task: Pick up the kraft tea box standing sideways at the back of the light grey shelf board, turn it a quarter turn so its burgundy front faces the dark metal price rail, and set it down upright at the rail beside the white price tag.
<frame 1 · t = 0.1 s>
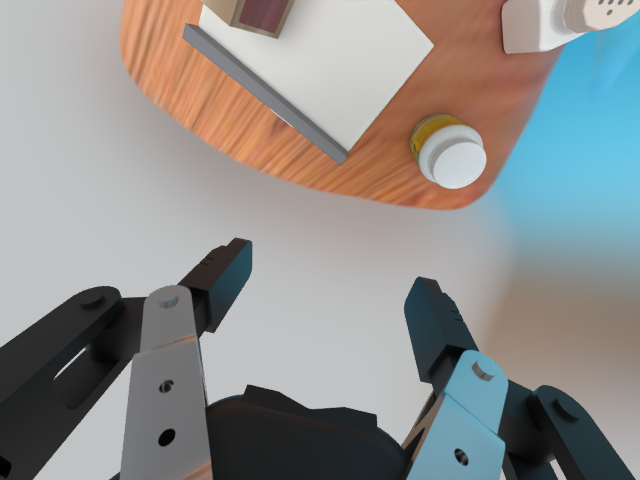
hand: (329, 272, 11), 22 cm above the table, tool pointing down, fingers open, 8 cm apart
supplement bottle: (433, 137, 27), on the table
shelf: (311, 43, 23), on the table
pepper shaker: (525, 17, 20), on the table
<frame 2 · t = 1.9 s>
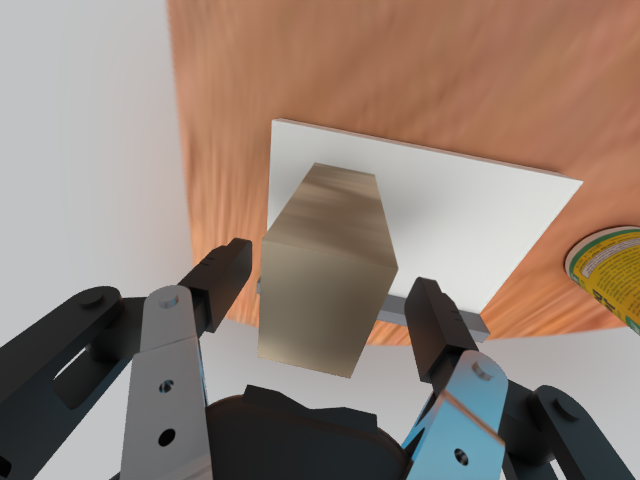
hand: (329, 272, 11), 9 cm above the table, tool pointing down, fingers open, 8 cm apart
tea box: (335, 209, 17), point 2 cm above the table, touching shelf
supplement bottle: (601, 253, 18), on the table
shelf: (387, 227, 19), on the table
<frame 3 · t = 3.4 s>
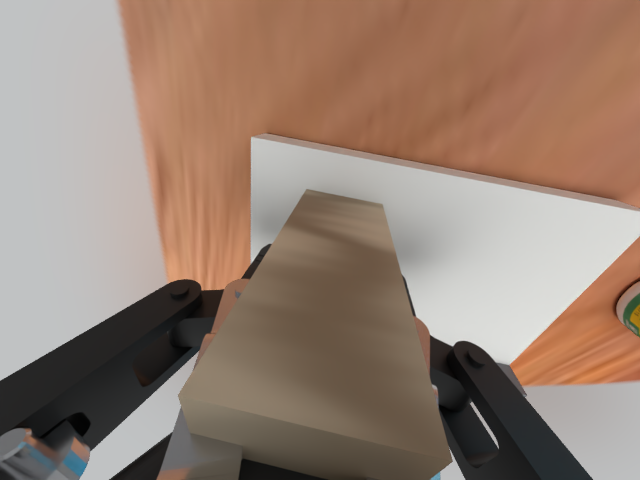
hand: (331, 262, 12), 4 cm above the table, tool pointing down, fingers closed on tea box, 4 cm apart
tea box: (333, 245, 13), point 2 cm above the table, touching gripper, shelf
shelf: (396, 261, 16), on the table
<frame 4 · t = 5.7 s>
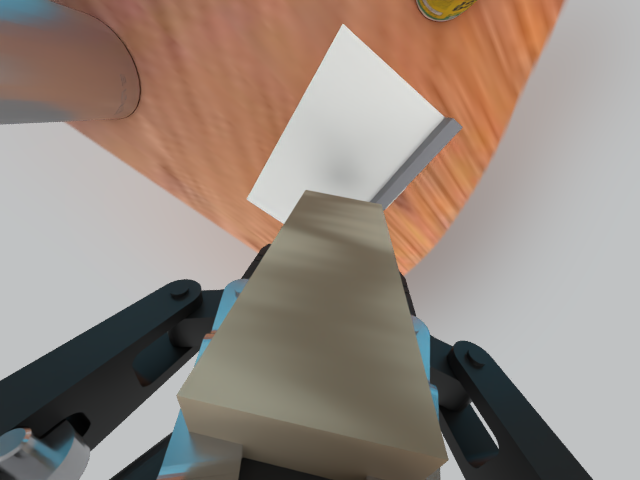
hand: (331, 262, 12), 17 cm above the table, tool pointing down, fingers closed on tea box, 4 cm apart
tea box: (332, 245, 13), point 16 cm above the table, touching gripper
shelf: (337, 163, 26), on the table
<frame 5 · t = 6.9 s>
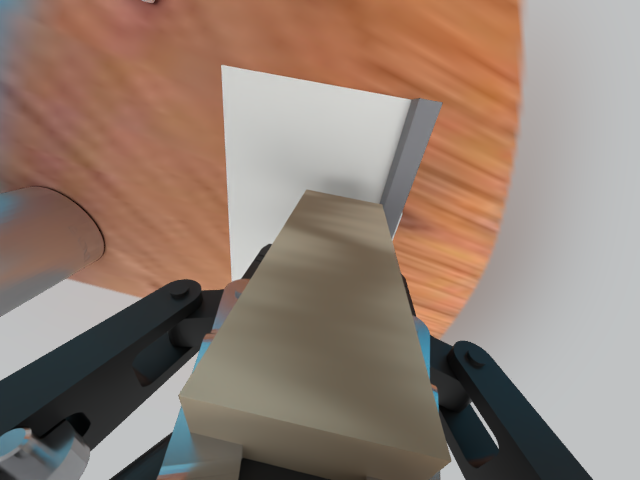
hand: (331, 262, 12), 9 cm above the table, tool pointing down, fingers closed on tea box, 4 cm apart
tea box: (333, 245, 13), point 7 cm above the table, touching gripper
shelf: (309, 213, 20), on the table
when the fingers open (5 cm above the table, at t = 7.8 s): tea box drops 1 cm, resting on shelf.
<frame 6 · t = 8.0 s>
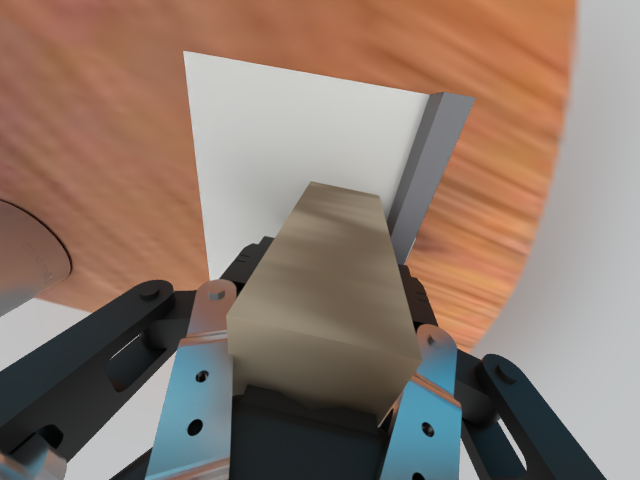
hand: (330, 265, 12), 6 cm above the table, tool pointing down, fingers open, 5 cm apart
tea box: (334, 233, 15), point 2 cm above the table, touching shelf
shelf: (301, 231, 17), on the table
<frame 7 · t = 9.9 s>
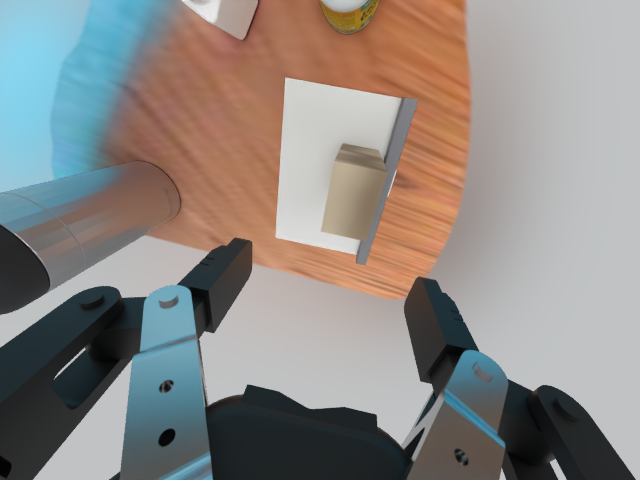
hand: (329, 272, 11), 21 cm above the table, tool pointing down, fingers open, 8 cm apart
tea box: (353, 173, 27), point 2 cm above the table, touching shelf
shelf: (333, 177, 29), on the table
pepper shaker: (237, 8, 23), on the table
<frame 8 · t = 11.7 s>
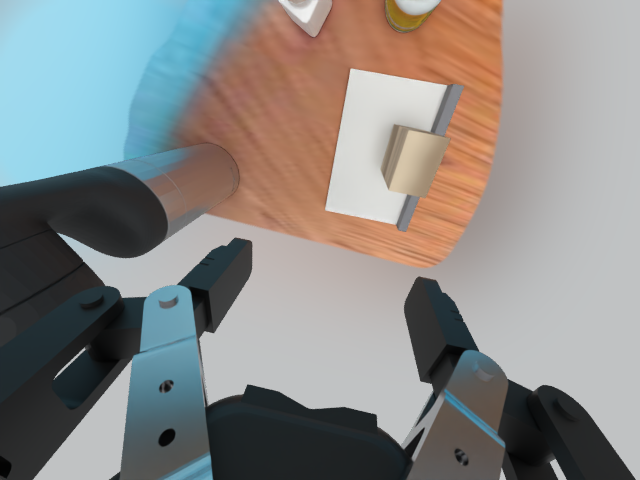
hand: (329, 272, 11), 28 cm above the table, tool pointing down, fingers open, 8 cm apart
tea box: (401, 150, 32), point 2 cm above the table, touching shelf
supplement bottle: (408, 3, 26), on the table
shelf: (379, 155, 34), on the table
pepper shaker: (311, 11, 28), on the table
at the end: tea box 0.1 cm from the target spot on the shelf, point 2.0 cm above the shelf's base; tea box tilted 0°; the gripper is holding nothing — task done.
